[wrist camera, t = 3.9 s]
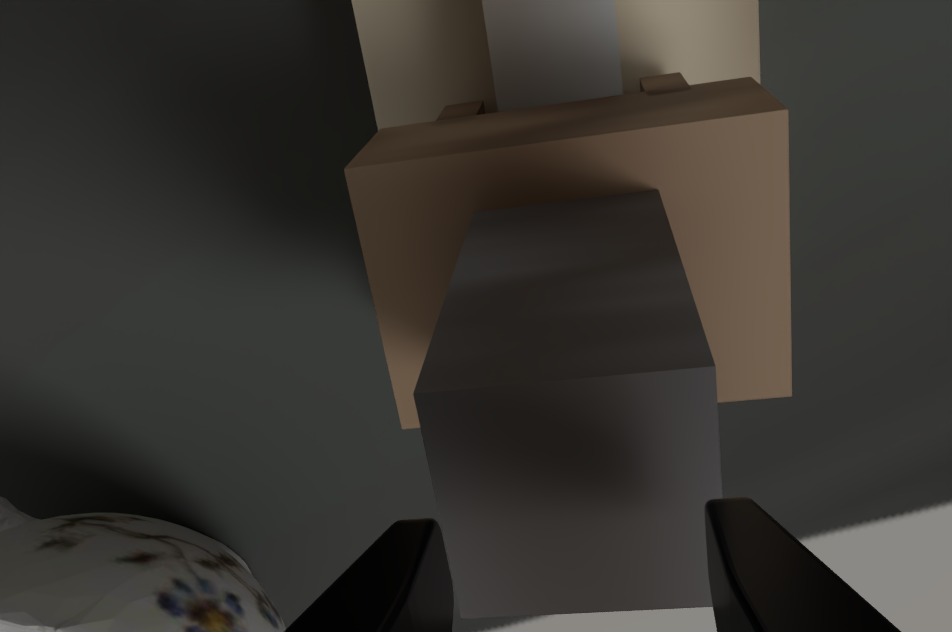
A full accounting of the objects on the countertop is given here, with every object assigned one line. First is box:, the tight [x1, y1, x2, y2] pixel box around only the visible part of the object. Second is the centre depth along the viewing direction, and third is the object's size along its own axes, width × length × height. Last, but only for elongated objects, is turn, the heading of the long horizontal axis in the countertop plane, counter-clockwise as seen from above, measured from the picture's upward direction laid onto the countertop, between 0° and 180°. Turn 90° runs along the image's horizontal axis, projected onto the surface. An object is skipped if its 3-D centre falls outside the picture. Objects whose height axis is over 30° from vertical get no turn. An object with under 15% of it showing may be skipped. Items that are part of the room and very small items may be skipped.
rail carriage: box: [344, 72, 792, 619], centre depth 14 cm, size 7×5×10 cm
